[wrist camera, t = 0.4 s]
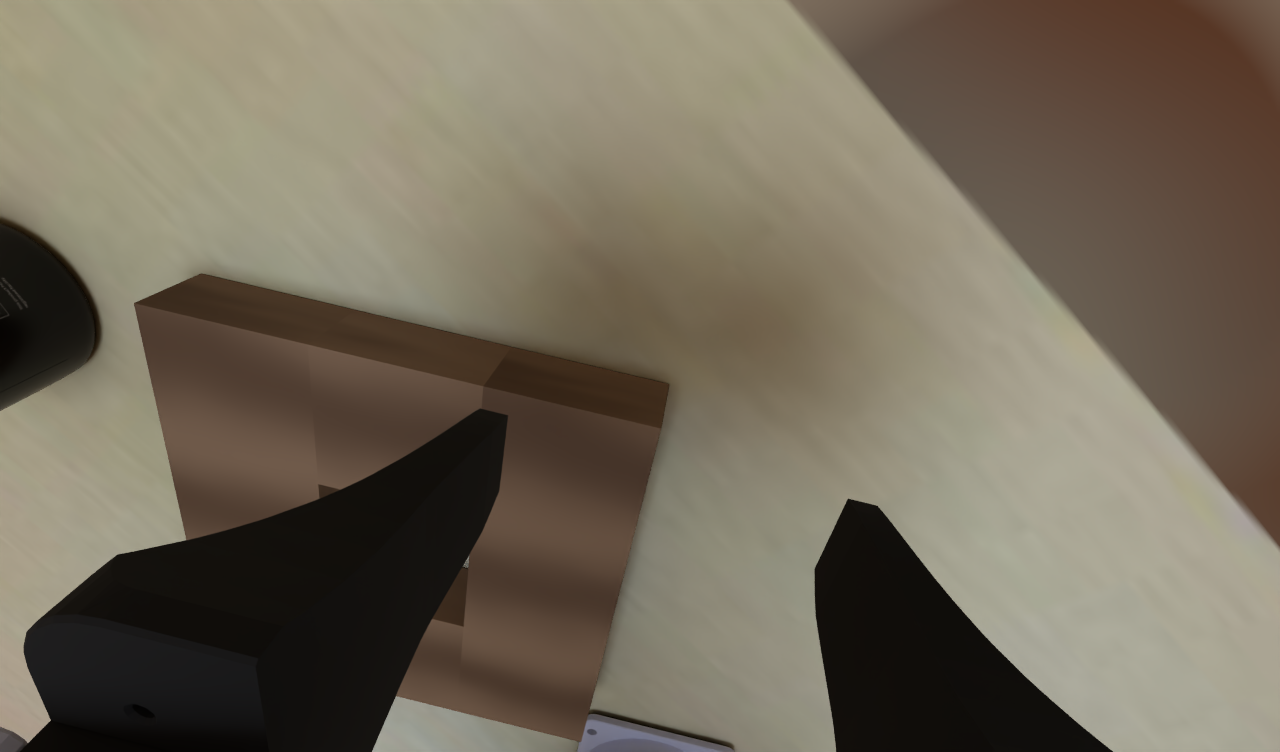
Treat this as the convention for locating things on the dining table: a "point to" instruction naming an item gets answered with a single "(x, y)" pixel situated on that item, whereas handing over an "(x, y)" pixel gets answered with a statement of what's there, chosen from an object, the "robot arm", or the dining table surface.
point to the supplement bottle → (38, 319)
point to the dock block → (394, 427)
